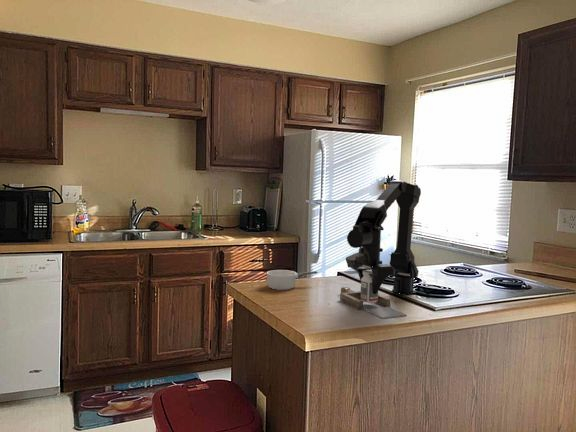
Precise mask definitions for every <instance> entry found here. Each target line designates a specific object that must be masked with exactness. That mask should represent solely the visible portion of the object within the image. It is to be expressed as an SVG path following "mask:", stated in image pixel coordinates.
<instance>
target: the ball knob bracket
mask: <svg viewBox="0 0 576 432" xmlns="http://www.w3.org/2000/svg"><path fill="white" fill-rule="evenodd" d="M360 297H361V290H360V291H354V290H352V289H351V287H347V286H343V287H340V293H339V300H340V302H342V303H344V304H347V306H348V305H349V306H351V308H355V309H356V310H364V302H363V301H361V299H360ZM391 301H392V299H391V298H390V297H387V296H385V295H382V294H380V293H378V301H377V302H376V303H378V305H382V306H384V307H391Z"/></svg>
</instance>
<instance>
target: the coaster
mask: <svg viewBox="0 0 576 432" xmlns="http://www.w3.org/2000/svg"><path fill="white" fill-rule="evenodd" d="M365 311H366V312H368V313H370V314H372V315H374V316H376V317H377V318H380V319H382V320H383V319H392V318H401V317H407V316H408V314H407V313H405V312H401V311H399V310H398V309H395V308H393V307H391V306H390V307H386V306H384V307H377V308H376V307H375V308H368V309H367V308H366V309H365Z"/></svg>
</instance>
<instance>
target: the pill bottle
mask: <svg viewBox="0 0 576 432" xmlns="http://www.w3.org/2000/svg"><path fill="white" fill-rule="evenodd" d="M369 274H373V273H372V270H363V277H362V278H361V281H360V291H361V297H360V299H361V301H363V303H368V304H374V303H377V301H378V294H379V291H378V292H377V294H373V290H372V278H371V277H370V275H369Z"/></svg>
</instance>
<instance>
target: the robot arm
mask: <svg viewBox="0 0 576 432" xmlns="http://www.w3.org/2000/svg"><path fill="white" fill-rule="evenodd" d="M421 194H422V190H421V188H420V186H419V185H418V184H412V183H408V182H406V181H404V180H397V179H396V180H390V181H389V183H388V186H387V187H386V188H385V189H384V190H383V191H382V192H381V194H380V195H379V196H378V197H377V198H376V199H375V200H374V201H371V202H370V201H369V202H367V204H364V206H363V207H361V210H360V211H359V214H358V216H357V219H356V221H355V223H354V225H353V226H352V229H351V230H350V231H349V232H348V234H347V235H346V241H347V243H348V245H349V247H350V248H353V249H358V252H355V253H353V254H351V255H348V256H346V257H345V261H346V265H347V268H349V269H350V268H351V270H353V271H356V273H357V274H358V277H359V280H360V282H361V278H362V277H363V270H372V273H373V274H369V275H370V277H371V278H372V290H373V294H377V292H378V293H379V290H380V288H381V286H382V285H383V283H384V281H385V280H386V278H387V277H389V276H394V279H393V285H392V286H393V287H392V289H391V290H392V291H391V292H393V291H395V292H394V293H396V292H398V293H400V294H399V295H401V294H405V295H413V293H417V292H416V291H414V281H415V280H414V279H417V278H418V276H419V272H420V271H419V269H418V267H417V265H416V263H415V255H414V254H413V252H412V249H411V248H412V247H411V245H412V234H413V223H414V222H413V220H414V211H415V210H414V209H415V208H416V207H417V205H418V204H419V202H420V197H421ZM394 202H396V205H397V206H398V207H399V216H398V226H397V227H398V228H397V239H396V240H397V241H396V248H395V249H394V251H393V252H391V253H390V260H389V264H383V260H381V259H380V258H381V252H382V253H383V252H384V248H381V241H382V240H381V239H382V238H381V236H382V235H381V234H382V231H384V226H382V224H383V223H384V222H385V220H386V219H387V217H388V212H387V211H388V209H390V207H391V206H392V204H393V203H394ZM398 293H397V294H398Z"/></svg>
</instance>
